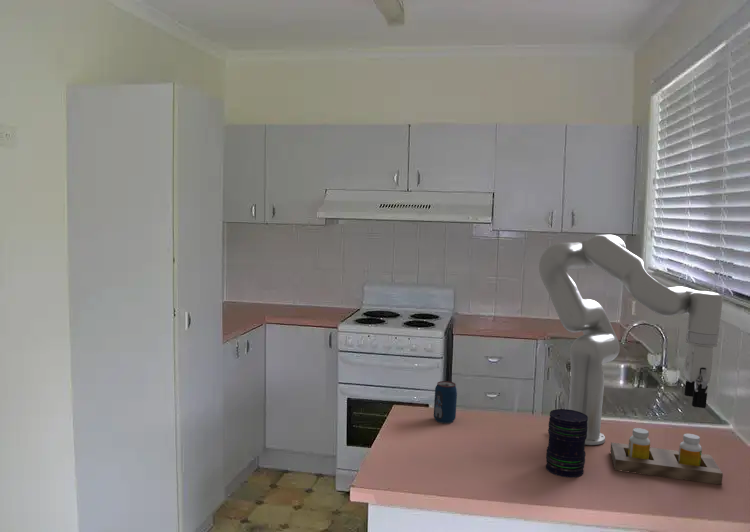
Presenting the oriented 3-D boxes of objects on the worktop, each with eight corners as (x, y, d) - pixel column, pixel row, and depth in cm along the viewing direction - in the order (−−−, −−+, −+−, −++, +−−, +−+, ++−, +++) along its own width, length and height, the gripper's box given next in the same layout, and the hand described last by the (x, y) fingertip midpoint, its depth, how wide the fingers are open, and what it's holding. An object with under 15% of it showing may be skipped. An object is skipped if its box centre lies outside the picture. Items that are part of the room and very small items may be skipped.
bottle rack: (614, 470, 177) (615, 459, 177) (610, 452, 190) (611, 442, 190) (721, 484, 171) (722, 473, 171) (709, 465, 184) (710, 455, 183)
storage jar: (573, 461, 182) (577, 408, 180) (591, 477, 172) (595, 421, 171) (539, 462, 180) (543, 409, 179) (554, 478, 171) (559, 421, 169)
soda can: (456, 418, 214) (458, 381, 212) (454, 425, 207) (456, 387, 206) (434, 415, 215) (437, 379, 214) (431, 422, 208) (433, 385, 207)
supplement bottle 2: (702, 476, 176) (705, 440, 175) (680, 473, 177) (683, 438, 176) (696, 468, 181) (699, 433, 180) (675, 466, 182) (678, 431, 181)
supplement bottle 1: (622, 461, 184) (625, 427, 183) (638, 459, 186) (641, 426, 185) (636, 469, 179) (639, 434, 178) (652, 467, 181) (655, 433, 180)
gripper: (680, 330, 184) (673, 390, 186) (693, 343, 168) (685, 409, 170) (709, 333, 183) (702, 394, 185) (726, 347, 166) (718, 413, 168)
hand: (694, 401), depth 177 cm, fingers open, 9 cm apart
